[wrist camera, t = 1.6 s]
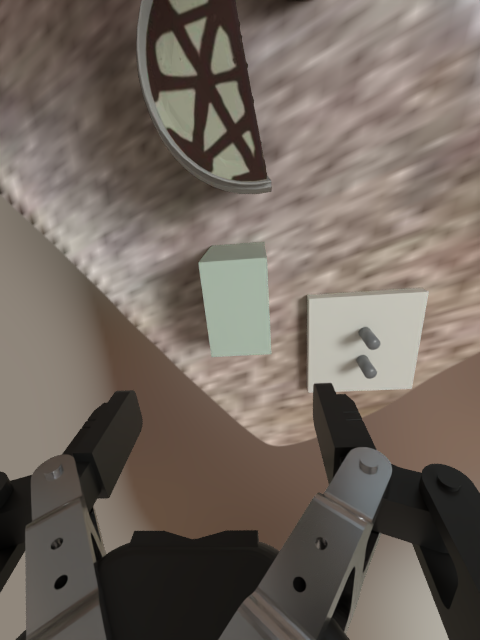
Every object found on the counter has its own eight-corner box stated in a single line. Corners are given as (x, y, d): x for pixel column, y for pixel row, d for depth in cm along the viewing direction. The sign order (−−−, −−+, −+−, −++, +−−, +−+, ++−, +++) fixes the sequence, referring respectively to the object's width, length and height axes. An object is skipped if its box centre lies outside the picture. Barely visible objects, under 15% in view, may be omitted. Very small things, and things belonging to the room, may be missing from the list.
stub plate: (307, 294, 30) (313, 308, 26) (422, 287, 29) (444, 300, 26) (306, 386, 34) (312, 407, 31) (406, 382, 33) (423, 403, 30)
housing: (211, 245, 28) (198, 262, 22) (264, 241, 28) (266, 257, 22) (220, 322, 32) (211, 357, 25) (268, 320, 31) (271, 354, 25)
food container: (153, 36, 22) (82, -69, 13) (233, 8, 22) (216, -123, 12) (199, 207, 27) (171, 217, 18) (266, 190, 26) (272, 191, 17)
